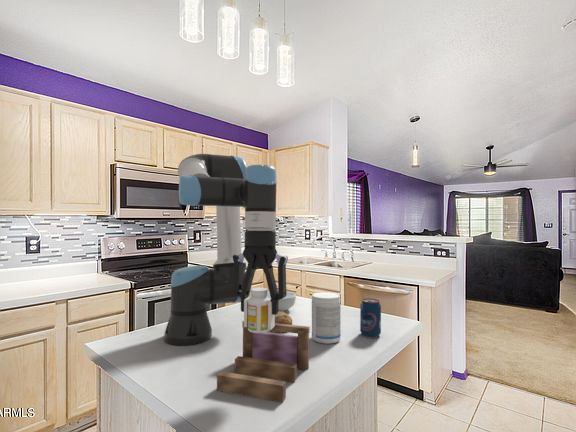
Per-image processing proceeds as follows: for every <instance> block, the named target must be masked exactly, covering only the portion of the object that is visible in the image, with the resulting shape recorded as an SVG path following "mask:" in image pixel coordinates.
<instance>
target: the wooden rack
mask: <svg viewBox="0 0 576 432" xmlns="http://www.w3.org/2000/svg"><path fill="white" fill-rule="evenodd" d="M241 322H242V323H241V324H242V326H241V327H242V356H240V355H239V356H237V357H235V359H234V373H233V372H229V371H228V372H227V371H220V372H219V373H218V374H216V391H218V392H223V393H224V392H225V393H230V394H235V395H241V396H246V397H250V398H251V397H252V398H257V399H263V400H268V401H275V402H279V403H284V401H285V400H286V398H287V397H286V394H287V389H286V388H287V382H290V383H296V381H297V378H298V377H297V376H298V375H297V373H298V370H300V371H307V370H308V369H309V367H310V366H309V365H310V363H309V361H310V360H309V359H310V356H309V355H310V350H309V349H310V333H311V331H310V329H311V327H310V326H305V325H304V326H303V325H297V324H296V325H294V324H292V325H288V324H279V323H275V327H273V328H272V329H271V331H280V332H279V333H276V332H264V333H253V332H250V331H249V330H248V327H244V320H242V321H241ZM282 332H284V333H288V334H284V333H283V334H282ZM289 333H291V334H297V335H291V334H290V335H289Z"/></svg>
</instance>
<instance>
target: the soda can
mask: <svg viewBox="0 0 576 432" xmlns="http://www.w3.org/2000/svg"><path fill="white" fill-rule="evenodd" d="M380 303H381V302H380V300H379V299H377V298H363V299H362V300H361V303H360V305H359V307H360V309H359V310H360V313H359V316H360V317H359V318H360V321H359V329H360V330H359V332H360V333H361V334H362V336H363V337H365V338H369V339H376V338H379V336H380V335H381V333H382V310H381V309H382V305H381V304H380Z"/></svg>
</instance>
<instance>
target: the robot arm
mask: <svg viewBox="0 0 576 432" xmlns="http://www.w3.org/2000/svg"><path fill="white" fill-rule="evenodd" d="M246 163H247V162H246V160H245V159H243V158H242V157H240V156H234V155H223V154H211V153H196V154H192V155H190V156H187V157H185V158H184V159H182V160H181V161H180V162H179V164H178V166H177V167H178V168H177V174H178V178H179V181H178V201H179V204H181V205H184V206H191V207H197V206H198V207H199V206H201V207H202V206H203V207H204V206H205V207H215V208H216V210H215V211H216V214H215V215H216V249H217V250H216V257H217V259H216V260H215V261H214V263H213V265H212V269H209V267H208V266H207V265H205V264H203V265H192V266H191V265H190V266H185V267H182V268H178V269H176V270H174V271H173V272H172V273H171V278H170V279H171V280H170V281H171V282H170V284H169V286H170V315H169V319H168V322H167V325H166V327H165V330H164V337H163V338H164V339H163V340H164V341H165V343H166V344H168V345H169V344H170V345H173V346H189V345H195V344H202V343H203V342H206V341H208V340H209V339H211V338H212V336H213V334H212V333H213V329H212V328H213V327H212V325H211V322H210V320H209V315H208V305H219V304H220V305H221V304H231V303H232V304H235V303H240V311H241V312H243V321H244V327H248V300H249V299H250V298H251V297H252V296H250V295H251V289H252V285H253V284H252V283H253V280H254V277H255V273H256V271H257V269H261V270H262V271H263V273H264V274H265V280H266V283H267V284H266V285H267V289H268V291H269V292H270V296H271V300H270V301H268V330H271V329H272V328H273V327H275V315H276V314H277V313H278V311H279V300H280V299H283V298H284V297H286V291H287V269H286V268H287V267H286V266H287V263H288V261H289V257H288V256H287V255H282V254H279V253H278V251H277V249H276V246H277V245H276V243H277V241H276V240H277V239H276V238H277V232H276V231H275V230H274V229H276V228H277V184H278V183H277V182H278V181H277V171H276V168H275V167H274V166H273V165H268V164H251V165H248V166H247V164H246ZM241 208H244V228H245V229H246V230H245V231H244V242H243V243H244V249H243V251H242V232H241ZM275 260H276V264H277V265H278V266H277V283H278V284H277V283H276V278H275V273H274V268H273V262H275ZM277 285H278V286H277Z"/></svg>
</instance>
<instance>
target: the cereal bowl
mask: <svg viewBox="0 0 576 432" xmlns="http://www.w3.org/2000/svg"><path fill="white" fill-rule="evenodd" d="M267 297H268V298H269V299H270V300H271V296H270V292H269V290H268V295H267ZM296 299H297V297H296V293H294V292H292V291H287V290H286V297H284V298H283V299H280V300H279V311H282V312H286V311H287V310H289V309H291V308H292V307H293V306H294V305H295V303H296V301H297V300H296ZM279 311H278V312H279Z"/></svg>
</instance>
